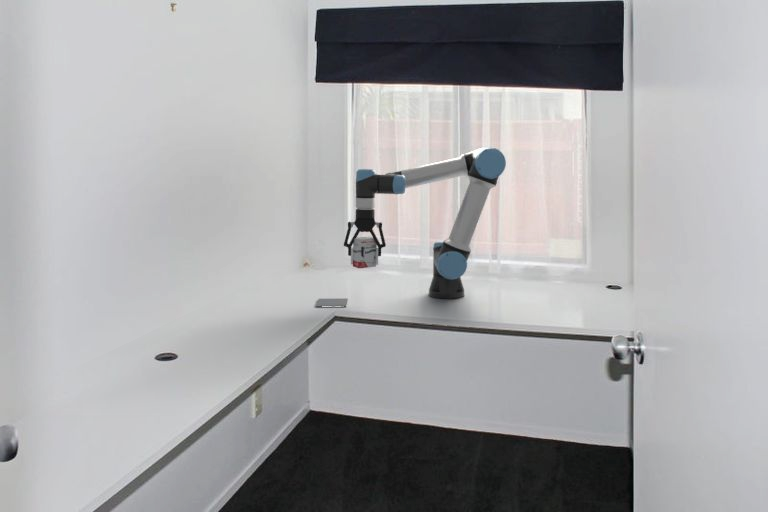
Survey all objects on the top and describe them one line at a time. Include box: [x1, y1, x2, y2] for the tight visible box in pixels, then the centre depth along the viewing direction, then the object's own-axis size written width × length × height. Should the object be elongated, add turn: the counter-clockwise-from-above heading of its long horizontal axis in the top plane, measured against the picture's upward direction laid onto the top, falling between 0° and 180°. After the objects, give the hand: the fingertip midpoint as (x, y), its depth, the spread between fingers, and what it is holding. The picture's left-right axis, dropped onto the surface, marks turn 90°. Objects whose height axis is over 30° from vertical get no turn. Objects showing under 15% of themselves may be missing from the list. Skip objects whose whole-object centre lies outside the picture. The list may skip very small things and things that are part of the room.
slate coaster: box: [315, 298, 349, 308], centre depth 249 cm, size 12×12×1 cm
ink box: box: [352, 235, 378, 269], centre depth 246 cm, size 8×5×12 cm, turn 123°
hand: (364, 263), depth 247 cm, fingers closed on ink box, 9 cm apart
